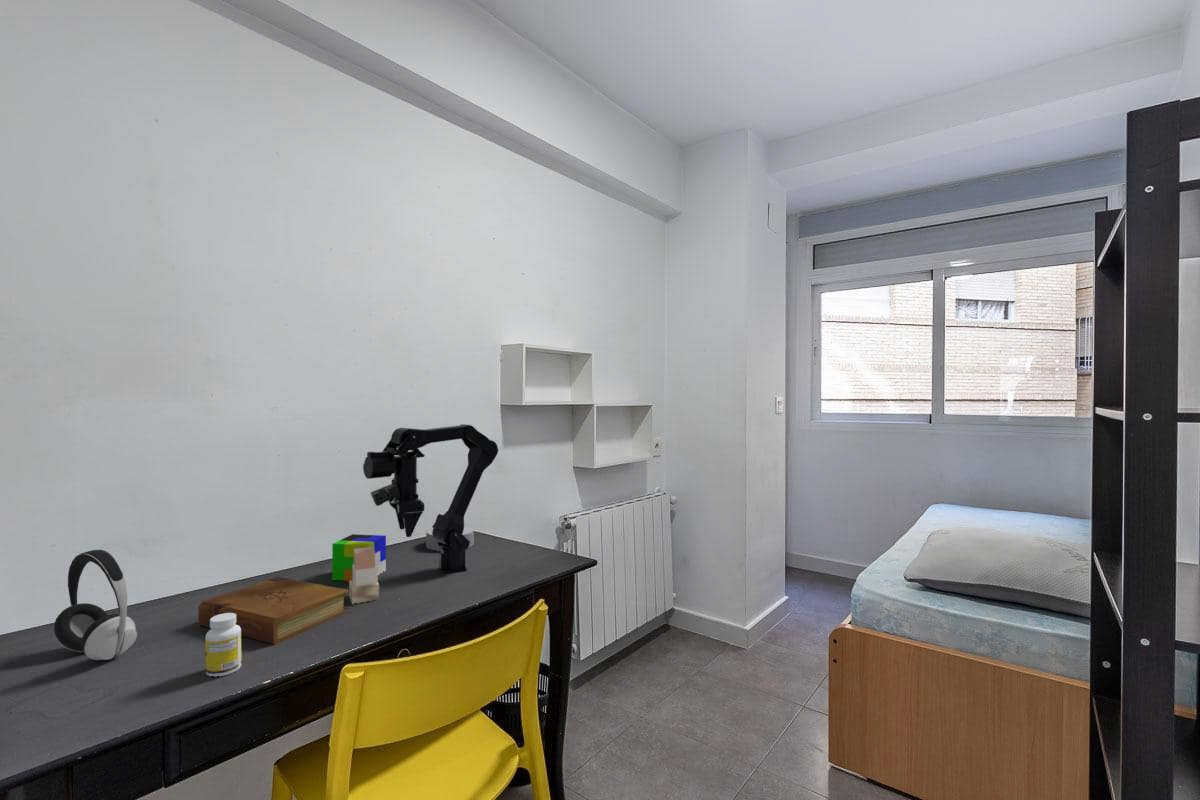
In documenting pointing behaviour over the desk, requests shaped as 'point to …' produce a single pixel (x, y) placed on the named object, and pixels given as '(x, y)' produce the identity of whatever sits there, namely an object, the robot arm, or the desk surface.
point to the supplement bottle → (223, 645)
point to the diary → (276, 608)
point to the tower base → (363, 592)
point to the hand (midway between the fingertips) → (405, 532)
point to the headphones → (96, 613)
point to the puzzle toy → (345, 554)
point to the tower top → (365, 576)
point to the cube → (364, 558)
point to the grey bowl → (433, 545)
